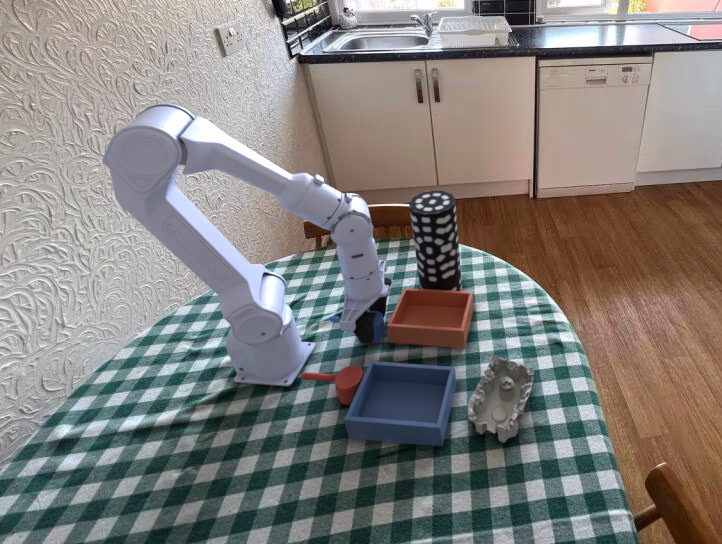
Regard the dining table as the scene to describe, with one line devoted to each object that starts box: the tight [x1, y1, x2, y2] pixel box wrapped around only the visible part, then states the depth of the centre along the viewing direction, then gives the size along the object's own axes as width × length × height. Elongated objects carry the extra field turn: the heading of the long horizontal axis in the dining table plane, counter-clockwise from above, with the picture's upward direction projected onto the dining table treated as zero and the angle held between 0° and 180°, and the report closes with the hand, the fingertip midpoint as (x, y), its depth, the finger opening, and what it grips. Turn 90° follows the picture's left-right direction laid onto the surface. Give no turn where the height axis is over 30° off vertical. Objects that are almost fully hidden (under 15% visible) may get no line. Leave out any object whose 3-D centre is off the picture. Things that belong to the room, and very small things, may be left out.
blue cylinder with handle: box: [329, 310, 387, 344], centre depth 73 cm, size 10×4×4 cm, turn 85°
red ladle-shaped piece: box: [300, 364, 365, 406], centre depth 63 cm, size 10×4×4 cm, turn 85°
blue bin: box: [343, 360, 457, 447], centre depth 60 cm, size 13×9×4 cm
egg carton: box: [467, 354, 535, 444], centre depth 60 cm, size 11×8×4 cm
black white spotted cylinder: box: [408, 190, 463, 291], centre depth 79 cm, size 8×8×20 cm
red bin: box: [386, 287, 475, 349], centre depth 74 cm, size 13×9×4 cm
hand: (373, 328), depth 73 cm, fingers open, 5 cm apart
